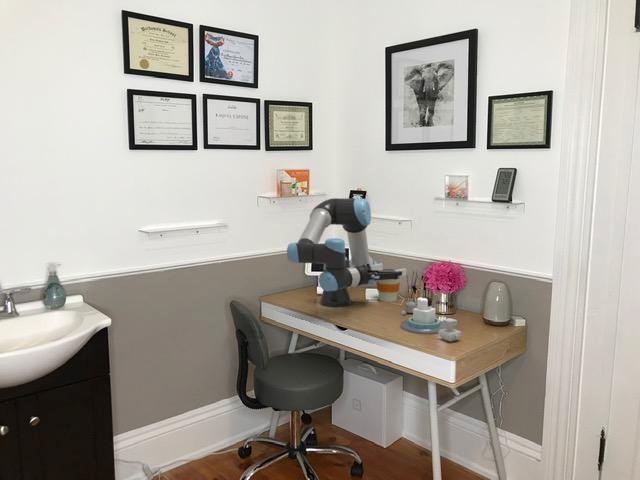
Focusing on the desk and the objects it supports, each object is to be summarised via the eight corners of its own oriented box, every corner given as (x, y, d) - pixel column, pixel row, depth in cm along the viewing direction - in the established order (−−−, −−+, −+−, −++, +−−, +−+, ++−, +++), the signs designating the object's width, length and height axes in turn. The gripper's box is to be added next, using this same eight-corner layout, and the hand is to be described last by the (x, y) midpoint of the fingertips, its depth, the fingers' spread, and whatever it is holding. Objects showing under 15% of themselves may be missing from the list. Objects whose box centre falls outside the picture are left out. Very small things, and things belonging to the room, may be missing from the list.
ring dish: (391, 325, 234) (391, 319, 234) (422, 317, 246) (422, 311, 246) (425, 337, 219) (426, 330, 218) (457, 328, 230) (458, 321, 230)
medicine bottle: (421, 321, 237) (421, 294, 236) (435, 324, 233) (436, 297, 231) (412, 324, 232) (412, 297, 230) (426, 328, 227) (427, 300, 226)
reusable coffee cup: (380, 295, 288) (380, 268, 286) (403, 298, 283) (403, 270, 280) (372, 301, 277) (372, 272, 275) (395, 303, 271) (396, 274, 269)
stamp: (464, 341, 213) (464, 320, 212) (452, 344, 210) (452, 323, 208) (447, 335, 221) (447, 315, 220) (435, 338, 217) (435, 318, 216)
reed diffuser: (411, 310, 259) (412, 269, 256) (423, 312, 254) (424, 271, 251) (398, 314, 252) (399, 272, 249) (410, 317, 247) (411, 274, 244)
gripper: (334, 280, 221) (372, 273, 233) (376, 291, 201) (415, 283, 214) (334, 262, 219) (372, 256, 232) (376, 272, 200) (416, 264, 212)
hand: (393, 269), depth 223 cm, fingers open, 13 cm apart
